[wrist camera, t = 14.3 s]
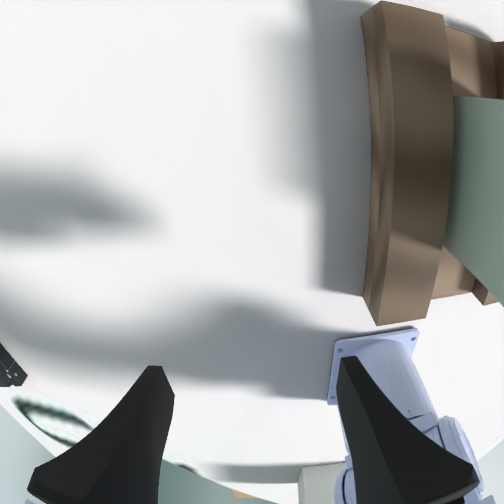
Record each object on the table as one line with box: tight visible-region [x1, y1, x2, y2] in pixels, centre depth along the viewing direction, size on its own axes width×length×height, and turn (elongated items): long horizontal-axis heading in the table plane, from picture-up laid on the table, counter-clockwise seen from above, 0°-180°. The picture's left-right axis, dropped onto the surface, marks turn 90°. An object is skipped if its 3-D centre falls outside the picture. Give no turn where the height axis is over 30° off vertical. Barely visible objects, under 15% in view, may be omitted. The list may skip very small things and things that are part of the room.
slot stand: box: [361, 1, 504, 326], centre depth 16 cm, size 20×14×4 cm
